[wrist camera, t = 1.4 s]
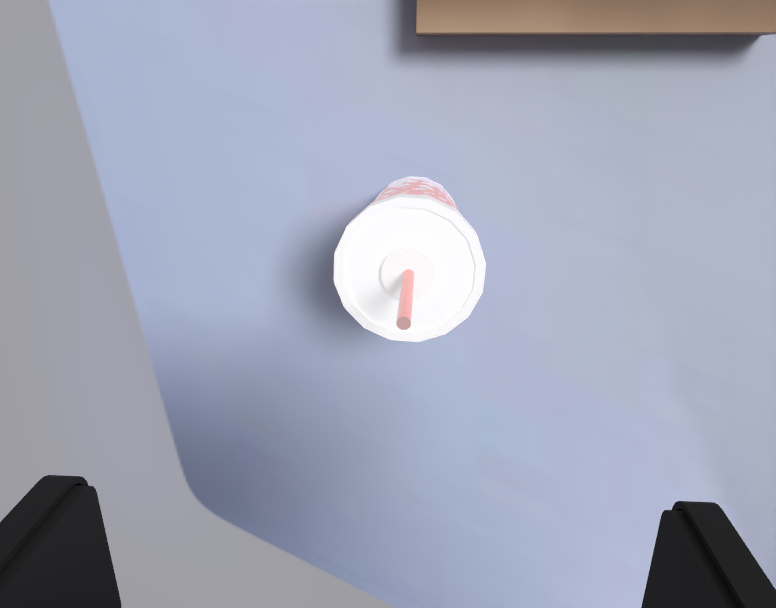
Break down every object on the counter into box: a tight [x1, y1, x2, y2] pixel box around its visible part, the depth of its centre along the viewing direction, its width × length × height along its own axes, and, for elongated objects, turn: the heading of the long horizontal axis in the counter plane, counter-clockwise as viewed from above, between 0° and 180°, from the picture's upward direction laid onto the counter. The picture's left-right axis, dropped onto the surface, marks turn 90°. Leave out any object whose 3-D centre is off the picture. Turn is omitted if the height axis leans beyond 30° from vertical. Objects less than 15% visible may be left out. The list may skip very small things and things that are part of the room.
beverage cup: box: [334, 176, 486, 342], centre depth 26 cm, size 6×6×14 cm
